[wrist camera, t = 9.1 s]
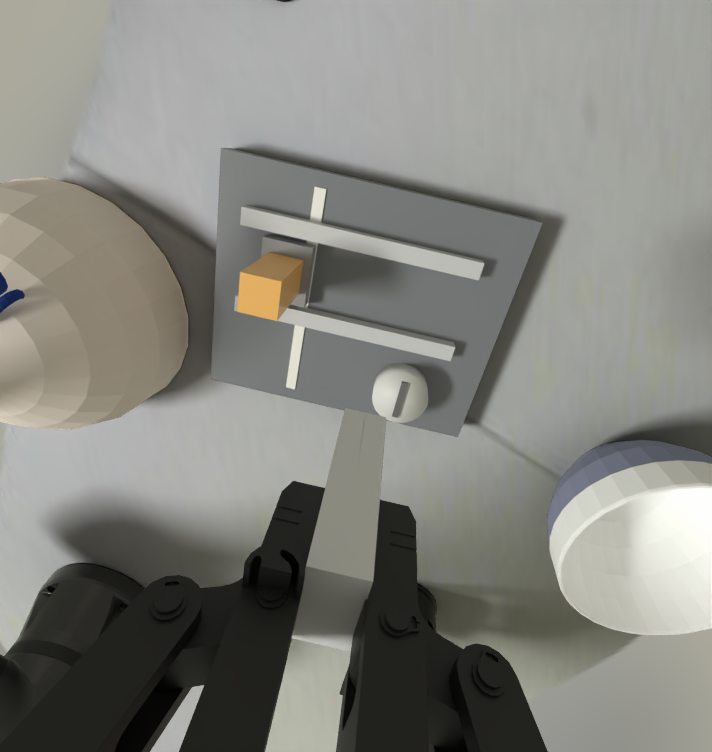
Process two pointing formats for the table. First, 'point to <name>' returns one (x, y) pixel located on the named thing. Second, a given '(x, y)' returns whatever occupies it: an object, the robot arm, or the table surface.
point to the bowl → (636, 537)
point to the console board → (365, 291)
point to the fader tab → (276, 278)
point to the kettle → (81, 308)
